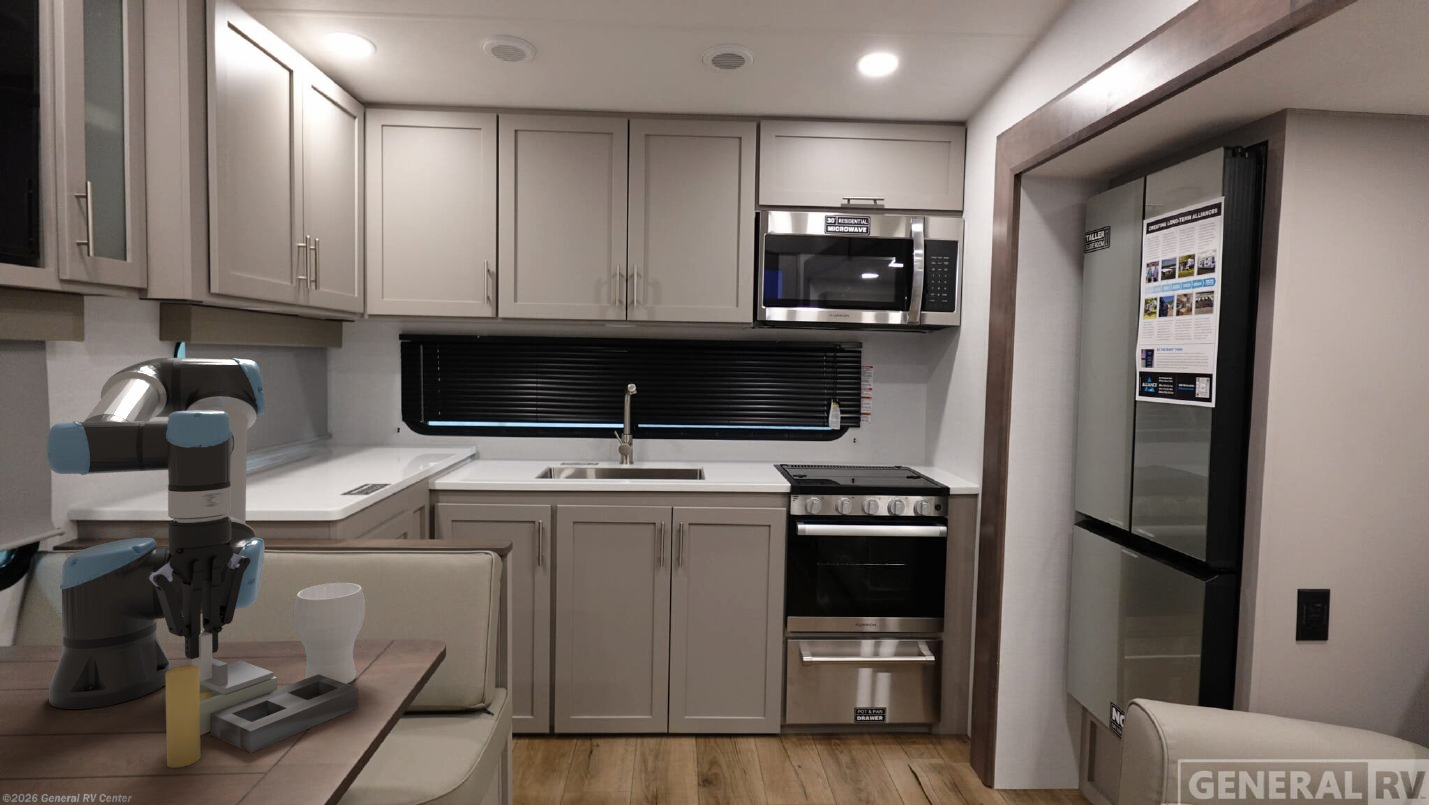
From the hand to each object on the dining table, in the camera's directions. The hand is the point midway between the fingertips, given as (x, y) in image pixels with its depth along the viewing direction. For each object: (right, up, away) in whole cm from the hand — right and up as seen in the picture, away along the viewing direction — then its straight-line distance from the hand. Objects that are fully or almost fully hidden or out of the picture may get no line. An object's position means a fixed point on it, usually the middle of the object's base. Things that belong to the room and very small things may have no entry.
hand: (202, 677), depth 109 cm
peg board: (+12, -7, +1) cm, 14 cm away
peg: (+5, -7, -11) cm, 14 cm away
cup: (+11, -6, +15) cm, 20 cm away
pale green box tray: (+1, -6, +3) cm, 7 cm away
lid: (+2, -2, +4) cm, 5 cm away
